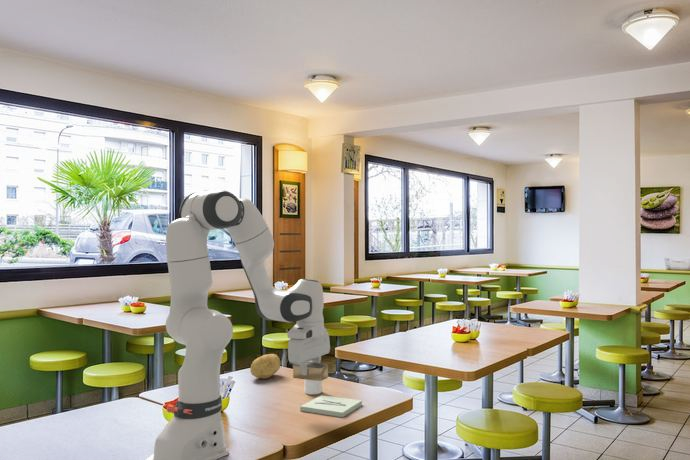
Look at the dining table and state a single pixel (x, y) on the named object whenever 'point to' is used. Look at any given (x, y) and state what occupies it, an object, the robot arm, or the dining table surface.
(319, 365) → the block
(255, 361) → the potato
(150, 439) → the dining table surface
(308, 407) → the board
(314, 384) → the can
